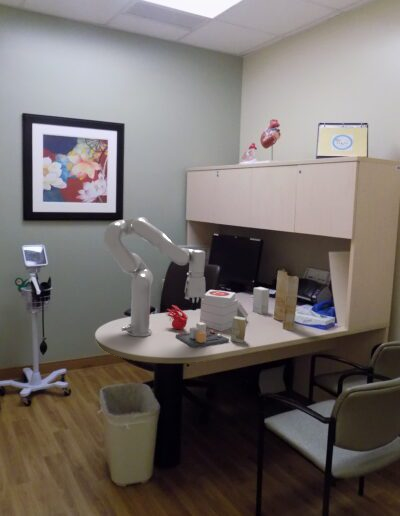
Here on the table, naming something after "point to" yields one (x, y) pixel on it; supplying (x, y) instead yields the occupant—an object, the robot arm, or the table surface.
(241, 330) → the skincare box
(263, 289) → the skincare box
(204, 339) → the orange slider
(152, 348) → the table surface
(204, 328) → the ivory slider
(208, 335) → the panel
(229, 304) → the pizza boxes
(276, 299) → the parchment
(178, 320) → the heart organ
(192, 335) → the grey slider
